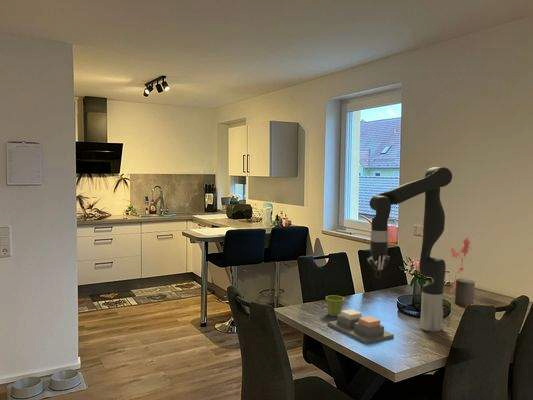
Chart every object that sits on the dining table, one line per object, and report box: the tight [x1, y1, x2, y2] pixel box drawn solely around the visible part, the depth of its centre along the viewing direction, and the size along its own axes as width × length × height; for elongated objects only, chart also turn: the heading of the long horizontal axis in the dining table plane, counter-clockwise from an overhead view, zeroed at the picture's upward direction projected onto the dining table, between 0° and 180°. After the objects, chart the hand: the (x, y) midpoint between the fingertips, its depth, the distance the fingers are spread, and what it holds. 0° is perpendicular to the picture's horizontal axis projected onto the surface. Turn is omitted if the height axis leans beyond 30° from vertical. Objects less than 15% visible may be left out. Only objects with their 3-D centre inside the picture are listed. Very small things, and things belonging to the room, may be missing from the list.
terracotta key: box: [358, 315, 381, 328], centre depth 197 cm, size 7×7×3 cm
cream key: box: [340, 309, 362, 320], centre depth 207 cm, size 7×7×3 cm
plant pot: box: [325, 294, 345, 317], centre depth 225 cm, size 9×9×9 cm
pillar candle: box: [454, 277, 476, 307], centre depth 250 cm, size 10×10×15 cm
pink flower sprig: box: [446, 236, 473, 294], centre depth 274 cm, size 15×26×35 cm, turn 139°
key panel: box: [327, 314, 395, 345], centre depth 202 cm, size 16×26×5 cm, turn 30°
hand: (378, 277), depth 202 cm, fingers closed
